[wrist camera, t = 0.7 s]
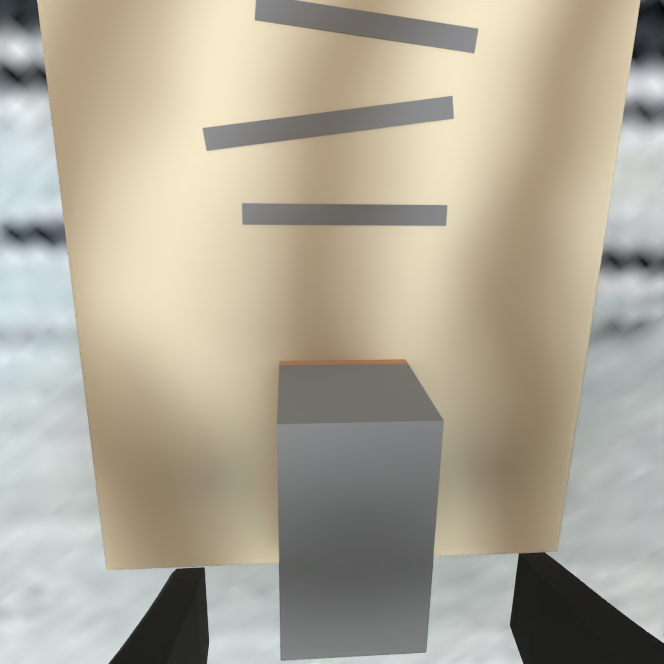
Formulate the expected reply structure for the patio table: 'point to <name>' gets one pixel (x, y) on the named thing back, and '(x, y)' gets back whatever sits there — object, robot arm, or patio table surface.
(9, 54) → the patio table surface
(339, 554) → the block
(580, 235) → the board
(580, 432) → the patio table surface
